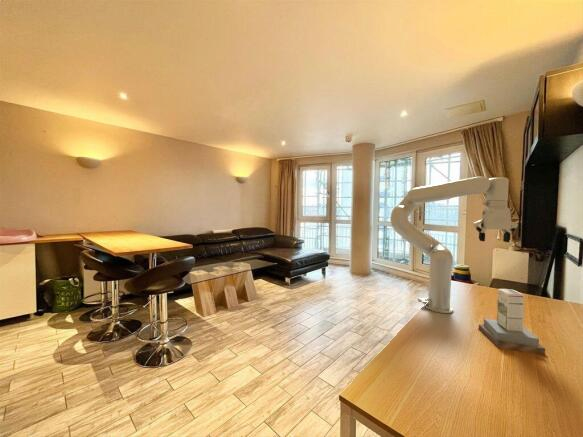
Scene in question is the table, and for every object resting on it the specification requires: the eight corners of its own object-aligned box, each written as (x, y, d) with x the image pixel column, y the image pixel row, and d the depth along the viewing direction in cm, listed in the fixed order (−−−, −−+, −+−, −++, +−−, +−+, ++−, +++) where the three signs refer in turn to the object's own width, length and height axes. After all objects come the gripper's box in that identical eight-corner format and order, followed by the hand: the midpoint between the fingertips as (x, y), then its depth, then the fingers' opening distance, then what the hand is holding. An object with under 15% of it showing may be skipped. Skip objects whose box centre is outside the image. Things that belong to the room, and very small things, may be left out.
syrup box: (523, 332, 89) (525, 294, 88) (506, 330, 90) (507, 293, 89) (512, 324, 95) (514, 289, 94) (495, 323, 96) (497, 288, 95)
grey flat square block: (498, 350, 87) (499, 342, 87) (478, 331, 101) (478, 324, 101) (544, 356, 84) (545, 348, 84) (517, 335, 98) (517, 328, 97)
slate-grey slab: (497, 340, 89) (497, 332, 89) (483, 325, 100) (484, 318, 100) (538, 347, 85) (539, 339, 84) (519, 330, 96) (520, 323, 96)
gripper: (479, 204, 107) (477, 241, 108) (524, 204, 103) (522, 243, 104) (470, 204, 114) (468, 239, 115) (512, 205, 111) (510, 241, 111)
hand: (494, 241), depth 110 cm, fingers open, 9 cm apart
